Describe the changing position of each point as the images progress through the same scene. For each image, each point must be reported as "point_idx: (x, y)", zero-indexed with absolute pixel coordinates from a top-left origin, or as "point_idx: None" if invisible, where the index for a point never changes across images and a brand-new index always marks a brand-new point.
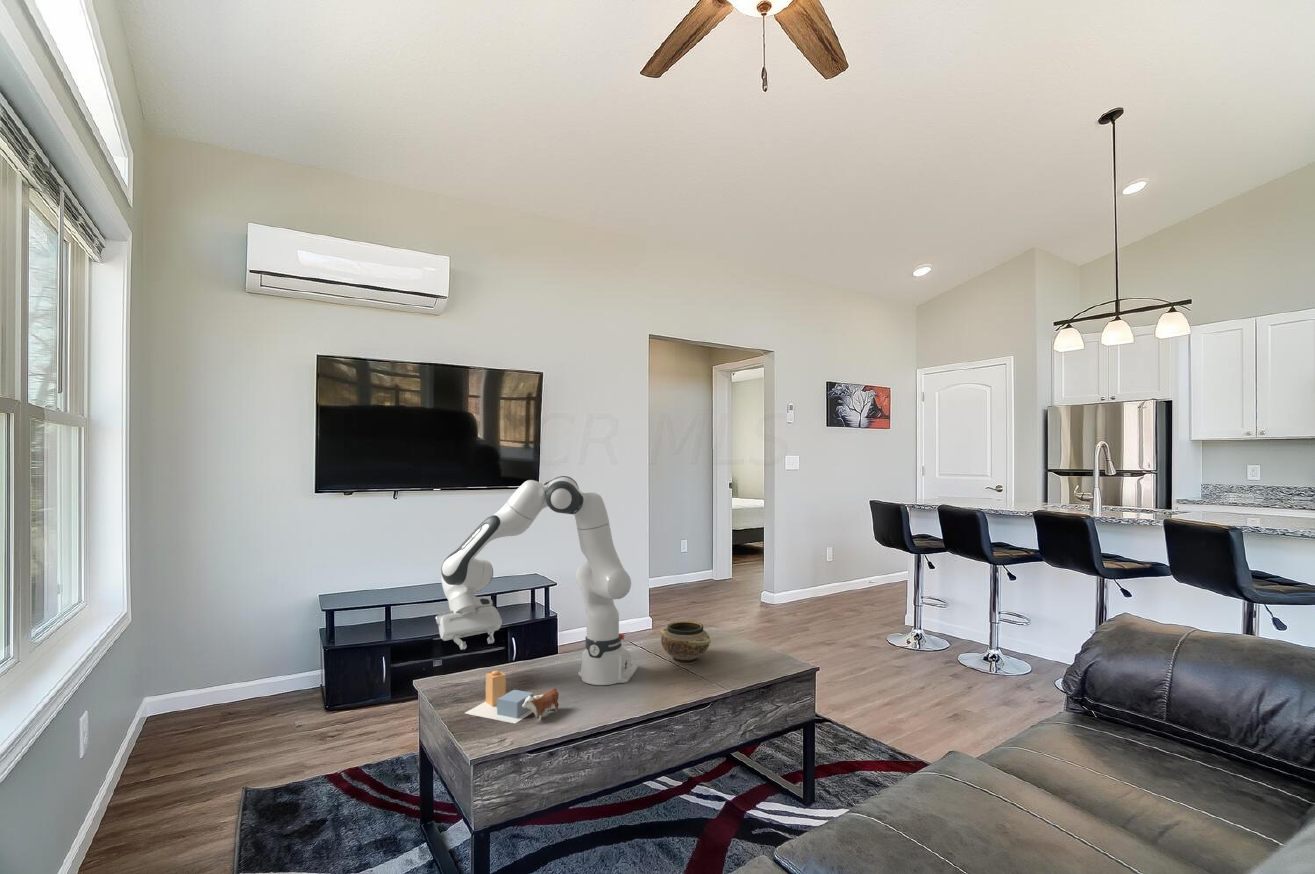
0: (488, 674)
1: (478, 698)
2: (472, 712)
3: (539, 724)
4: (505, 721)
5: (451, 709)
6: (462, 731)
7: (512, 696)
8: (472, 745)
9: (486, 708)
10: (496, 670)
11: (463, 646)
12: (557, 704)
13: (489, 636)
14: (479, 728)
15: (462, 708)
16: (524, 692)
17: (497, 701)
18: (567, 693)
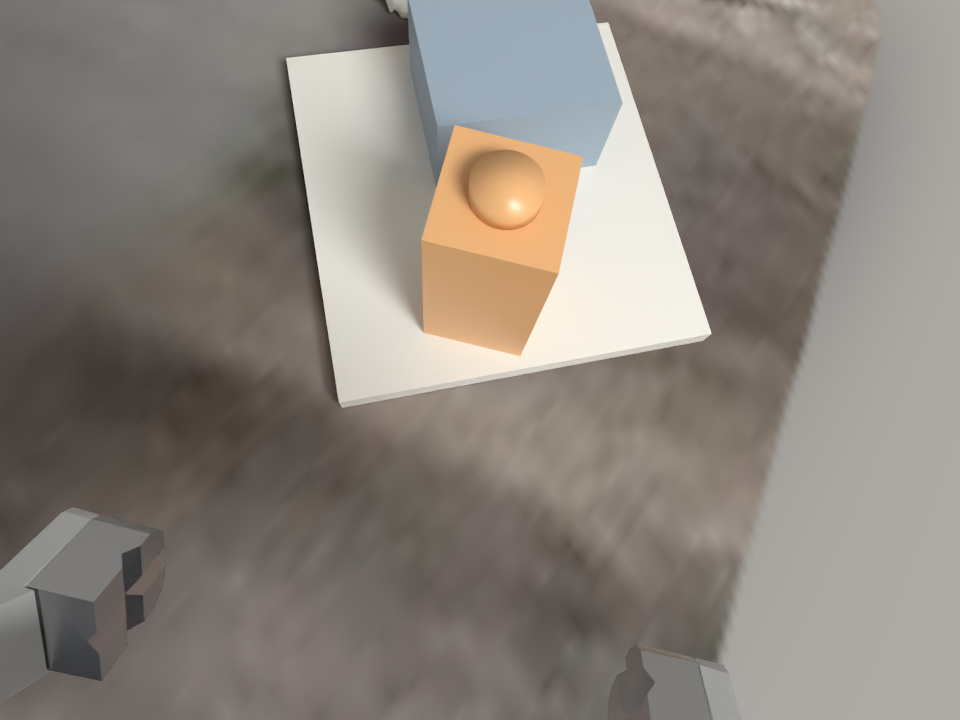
0: (551, 243)
1: (459, 510)
2: (672, 299)
3: None
4: (624, 72)
5: (694, 502)
6: (809, 200)
7: (531, 56)
8: (849, 60)
9: (580, 276)
10: (482, 199)
11: (699, 662)
12: None
13: (77, 595)
14: (729, 159)
15: (637, 454)
16: (433, 40)
17: (616, 113)
18: (74, 95)
